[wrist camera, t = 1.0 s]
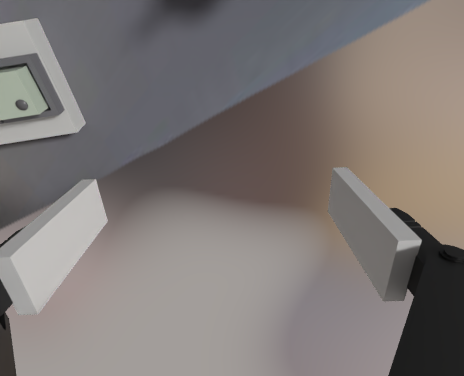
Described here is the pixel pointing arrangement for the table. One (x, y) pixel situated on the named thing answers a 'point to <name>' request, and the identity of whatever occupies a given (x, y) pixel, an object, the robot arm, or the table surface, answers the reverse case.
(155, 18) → the table surface
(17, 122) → the tile tray
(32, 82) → the two dot tile
